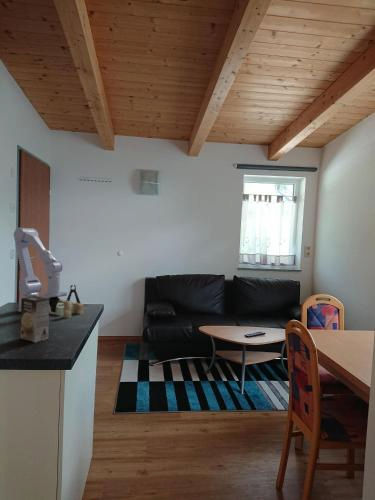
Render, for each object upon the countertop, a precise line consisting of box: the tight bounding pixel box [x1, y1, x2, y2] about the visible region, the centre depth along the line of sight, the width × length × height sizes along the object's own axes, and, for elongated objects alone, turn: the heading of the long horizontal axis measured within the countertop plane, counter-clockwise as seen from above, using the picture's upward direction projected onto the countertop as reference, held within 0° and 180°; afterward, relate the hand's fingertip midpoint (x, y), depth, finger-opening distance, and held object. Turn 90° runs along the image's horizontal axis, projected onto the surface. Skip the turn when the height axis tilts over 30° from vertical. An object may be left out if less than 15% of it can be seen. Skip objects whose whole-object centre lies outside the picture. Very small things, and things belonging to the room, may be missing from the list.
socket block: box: [49, 303, 75, 317], centre depth 167 cm, size 10×8×4 cm
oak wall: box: [57, 299, 85, 315], centre depth 171 cm, size 20×2×5 cm, turn 58°
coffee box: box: [20, 295, 50, 343], centre depth 125 cm, size 9×6×16 cm
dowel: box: [63, 300, 73, 319], centre depth 158 cm, size 4×4×8 cm
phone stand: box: [66, 284, 82, 304], centre depth 183 cm, size 9×6×12 cm, turn 109°
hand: (53, 311), depth 163 cm, fingers closed
